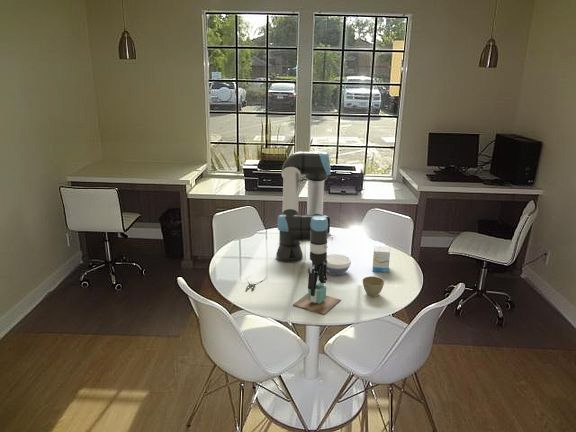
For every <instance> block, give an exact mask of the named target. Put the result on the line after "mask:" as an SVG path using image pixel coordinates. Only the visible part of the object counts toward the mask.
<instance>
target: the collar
mask: <svg viewBox="0 0 576 432" xmlns="http://www.w3.org/2000/svg"><path fill="white" fill-rule="evenodd" d="M307 289H308V288H307ZM316 289H317V302H316V303H321V302H322V301H323V300H325V299H326V296H327V285H324V286H323V285H319V284H318V283H317V285H316ZM318 289H319V290H318ZM307 293H308V300H309V301H311V289H308V292H307Z"/></svg>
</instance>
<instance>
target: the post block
mask: <svg viewBox="0 0 576 432" xmlns="http://www.w3.org/2000/svg"><path fill="white" fill-rule="evenodd" d="M318 290H319V289H318ZM341 301H342V300H341V299H340V298H337V297H333V296H329V295H326V299H325V300H323V301H322V302H321V303H315V302H311V301H309V300H308V292H307V293H306V294H304V295H303V296H301V298H299V299H298V300H296V301H295V302H293V304H292V307H297V308H300V309H303V310H307V311H309V312H313V313H316V314H318V315H319V314H320V315H323V316H325V315H326V314H327V313H328V312H330V311H331V310H332V309H333V308H334V307H335V306H336V305H338V304H339V302H341Z"/></svg>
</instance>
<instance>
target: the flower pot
mask: <svg viewBox="0 0 576 432" xmlns="http://www.w3.org/2000/svg"><path fill="white" fill-rule="evenodd" d="M384 285H385V280H384V279H383V278H381V277H379V276H372V275H371V276H366V277H363V279H362V287H363V288H364V292H365V293H366V294H367V296H368V297H371V298H372V297H373V298H375V297H378V295H380V293H381V292H382V290H383V287H384Z"/></svg>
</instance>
